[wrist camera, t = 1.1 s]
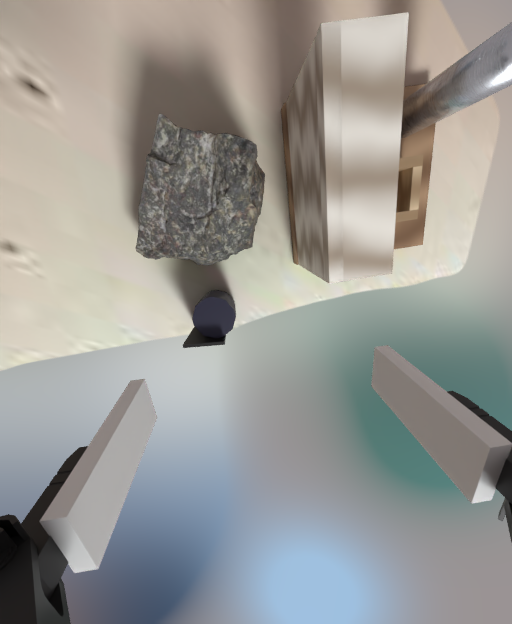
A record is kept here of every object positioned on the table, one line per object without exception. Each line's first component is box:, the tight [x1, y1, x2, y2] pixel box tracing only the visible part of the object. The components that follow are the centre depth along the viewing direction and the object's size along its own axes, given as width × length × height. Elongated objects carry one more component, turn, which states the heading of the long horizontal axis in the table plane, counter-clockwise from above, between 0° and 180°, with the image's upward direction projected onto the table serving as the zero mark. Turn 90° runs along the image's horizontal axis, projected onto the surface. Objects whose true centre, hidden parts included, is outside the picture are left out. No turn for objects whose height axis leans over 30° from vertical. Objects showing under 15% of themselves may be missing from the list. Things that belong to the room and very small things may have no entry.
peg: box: [401, 22, 512, 139], centre depth 25 cm, size 4×4×14 cm
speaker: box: [183, 290, 236, 348], centre depth 35 cm, size 8×6×10 cm
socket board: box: [281, 12, 435, 284], centre depth 28 cm, size 20×20×14 cm
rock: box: [136, 113, 265, 265], centre depth 30 cm, size 18×13×15 cm
